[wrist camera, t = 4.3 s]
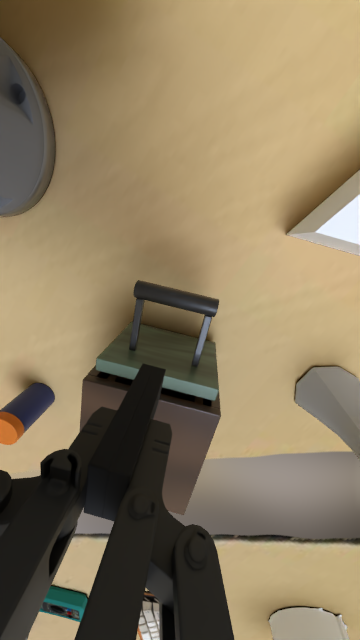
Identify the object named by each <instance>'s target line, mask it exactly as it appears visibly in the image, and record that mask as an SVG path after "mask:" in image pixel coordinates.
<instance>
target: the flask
mask: <svg viewBox="0 0 360 640" xmlns="http://www.w3.org/2000/svg"><path fill="white" fill-rule="evenodd" d="M295 403H297V404H298V405H299V406H300V407H302V408H303V409H305V410H306V411H307V412H309V413H310V414H311V415H313V416H314V417H315V418H317V419H318V420H319V421H321V422H322V423H323V424H324V425H326V426H327V427H328V428H329V429H331V430H332V431H333V432H335V433H336V434H337V435H338V436H339V437H340V438H341V439H342V440H343V441H344V442H345V443H346V444H347V445H348V446H349V447H350V448H351V449H352V450H353V452H354V453H355V455H356V456H357V457H358V459H359V460H360V381H359V379H358V378H357V377H355V376H354V375H352V374H350V373H349V372H347V371H345V370H344V369H342V368H341V367H313V368H312V369H311V370H310V371H309V372H308V373H307V374H306V375H305V376H304V377H303V378H302V379H301V380H300V381H299V382H298V383H297V384H296V397H295Z"/></svg>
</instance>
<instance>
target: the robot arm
mask: <svg viewBox="0 0 360 640" xmlns="http://www.w3.org/2000/svg"><path fill="white" fill-rule="evenodd" d="M54 161H55V136H54V129H53V123H52V119H51V115H50V111H49V108H48V105H47V102H46V100H45V97H44V95H43V93H42V90H41V88H40V86H39V84H38V82H37V81H36V79H35V77H34V76H33V74H32V72H31V71H30V69H29V68H28V67H27V65H26V64H25V63H24V61H23V60H22V59H21V58H20V57H19V56H18V54H17V53H16V52H15V51H14V50H13V49H12V48H11V47H10V46H9V45H8V44H7V43H6V42H5V41H4V40H3V39H2V38H0V217H10V216H15V215H19V214H21V213H24V212H25V211H27V210H29V209H30V208H32V207H33V206H34V205H35V204H36V203H37V202H38V201H39V200H40V198H41V197H42V196H43V194H44V193H45V191H46V189H47V187H48V185H49V182H50V179H51V176H52V172H53V167H54ZM165 371H166V369H163V368H159V367H155V366H151V365H147V364H144V363H143V364H142V366H141V367H140V369H139V371H138V373H137V375H136V377H135V379H134V380H133V382H132V384H131V386H130V388H129V390H128V392H127V393H126V395H125V397H124V399H123V401H122V403H121V404H120V406H119V408H118V410H113V409H110V408H106V407H100V408H99V409H98V410H96V411H95V412H94V413H92V415H91V416H90V418H89V419H88V421H87V423H86V424H85V425H84V427H83V428H82V430H81V431H80V433H79V434H78V436H77V437H76V439H75V440H74V442H73V443H72V445H71V446H70V448H69V449H62V450H58V451H55V452H53V453H51V454H50V455H48V456H47V457H46V458H45V459H44V460H43V461H42V462H41V475H40V476H37V477H32V478H21V479H11V477H10V475H9V474H8V472H5V471H2V470H0V640H26V639H27V636H28V634H29V632H30V630H31V628H32V625H33V623H34V621H35V619H36V617H37V614H38V612H39V610H40V608H41V606H42V604H43V601H44V599H45V597H46V595H47V593H48V590H49V588H50V586H51V584H52V582H53V579H54V577H55V575H56V573H57V571H58V568H59V566H60V564H61V562H62V560H63V557H64V555H65V553H66V551H67V549H68V547H69V544H70V542H71V540H72V538H73V536H74V533H75V530H76V527H77V520H78V518H79V516H80V514H81V512H82V510H83V507H84V513H87V514H91V515H94V516H98V517H101V518H105V519H108V520H112V521H114V524H113V527H112V530H111V533H110V536H109V539H108V542H107V545H106V548H105V551H104V554H103V557H102V560H101V563H100V566H99V569H98V572H97V575H96V578H95V581H94V584H93V587H92V590H91V592H90V595H89V598H88V601H87V604H86V607H85V610H84V613H83V616H82V619H81V622H80V625H79V628H78V631H77V634H76V637H75V640H136V636H137V630H138V625H139V619H140V614H141V608H142V603H143V597H144V592H145V587H146V588H147V589H148V590H149V591H150V592H151V593H152V594H153V595H154V596H155V597H156V598H157V599H158V600H159V637H160V640H234V635H233V630H232V625H231V620H230V615H229V610H228V605H227V600H226V595H225V590H224V585H223V579H222V574H221V569H220V564H219V559H218V554H217V550H216V547H215V544H214V541H213V539H212V538H211V536H210V535H209V533H208V532H207V531H206V530H205V529H203V528H202V527H201V526H198V525H193V524H192V525H189V526H184V525H183V524H182V523H180V522H179V521H178V520H176V519H175V518H173V516H172V515H171V514H170V513H169V512H168V510H167V509H166V507H165V505H164V502H163V497H162V488H163V483H164V477H165V472H166V466H167V461H168V455H169V450H170V444H171V439H172V430H171V426H170V424H168V423H164V422H161V421H157V420H153V419H154V415H155V412H156V409H157V406H158V402H159V398H160V393H161V389H162V384H163V380H164V376H165Z"/></svg>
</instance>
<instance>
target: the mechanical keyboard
mask: <svg viewBox="0 0 360 640" xmlns="http://www.w3.org/2000/svg"><path fill="white" fill-rule="evenodd" d="M137 631H138V634H139V636H140V639H141V640H160V637H159V600H158V599H157V598H156V597H155V596H154V595H153V594H152V593H147V592H144V597H143V603H142V608H141V614H140V619H139V625H138V630H137Z"/></svg>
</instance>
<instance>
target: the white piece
mask: <svg viewBox="0 0 360 640" xmlns="http://www.w3.org/2000/svg"><path fill="white" fill-rule="evenodd" d="M322 609H323V608H319V609H316V608H314V609H313V608H306V607H305V608H304V607H303V608H301V607H300V608H298V607H296V608H289V609H285V610H278V611H277V613H274V614H272V615H271V617H270V620H268V621H269V622H270V626H271V631H272V636H273V640H349V637H348V634H347V631H346V629H347V627H346V626H347V625H345V624H344V623H343V621H342V618H341V616H342V615H339V616H337V617H335V616H334V615H333V614H332V613H329V612H326V611H323V610H322Z"/></svg>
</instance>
